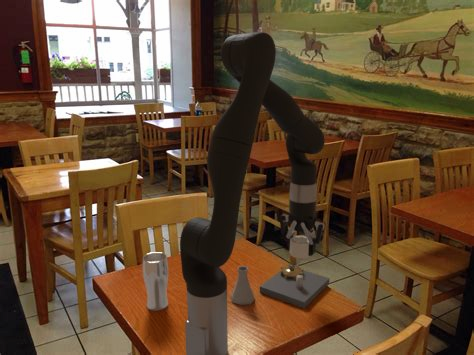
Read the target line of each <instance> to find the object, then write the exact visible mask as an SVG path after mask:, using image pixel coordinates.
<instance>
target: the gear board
mask: <svg viewBox="0 0 474 355" xmlns="http://www.w3.org/2000/svg"><path fill="white" fill-rule="evenodd" d="M329 285H330V277H327V276H324V275H320V274H318V273H314V272H310V271H307V270H303V276H301V275H298V276H297V277H296V280H293V279H289V278H288V279H285V278H284V276H282V275H280V270H279V271H278V272H277V273H275V274H274V275H273V276H271V277H270V278H269V279H267V281H265V282H264V283H262V284H261V285H260V286H259V293H261V294H264V295H267V296H269V297H271V298H274V299H277V300H280V301H283V302H285V303H288V304H289V305H290V304H291V305H293V306H295V307H299V308H301V309H306V308H307V306H308V305H310V304H311V302H312V301H313V300H315V299H316V298H317V296H319V295H320V293H322V291H324V290H325V289H326V288H327V287H328V286H329ZM318 294H319V295H318Z"/></svg>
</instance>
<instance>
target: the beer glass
mask: <svg viewBox="0 0 474 355" xmlns="http://www.w3.org/2000/svg"><path fill="white" fill-rule="evenodd" d="M168 264H169V263H168V256H167V254H165V253H164V252H159V251H158V252H157V251H156V252H155V251H154V252H153V251H152V252H149V253H146V254H145V255H143V257H142V277H143V280H144V285H145V290H146V293H147V294H146V295H147V300H146V301H147V302H146V307H147V309H148V310H149V311H155V312H156V311H161V310H165V309H166V308H167V307H168V306H169V300H168V296H167V288H168V282H169V280H168V279H169V265H168Z"/></svg>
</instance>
